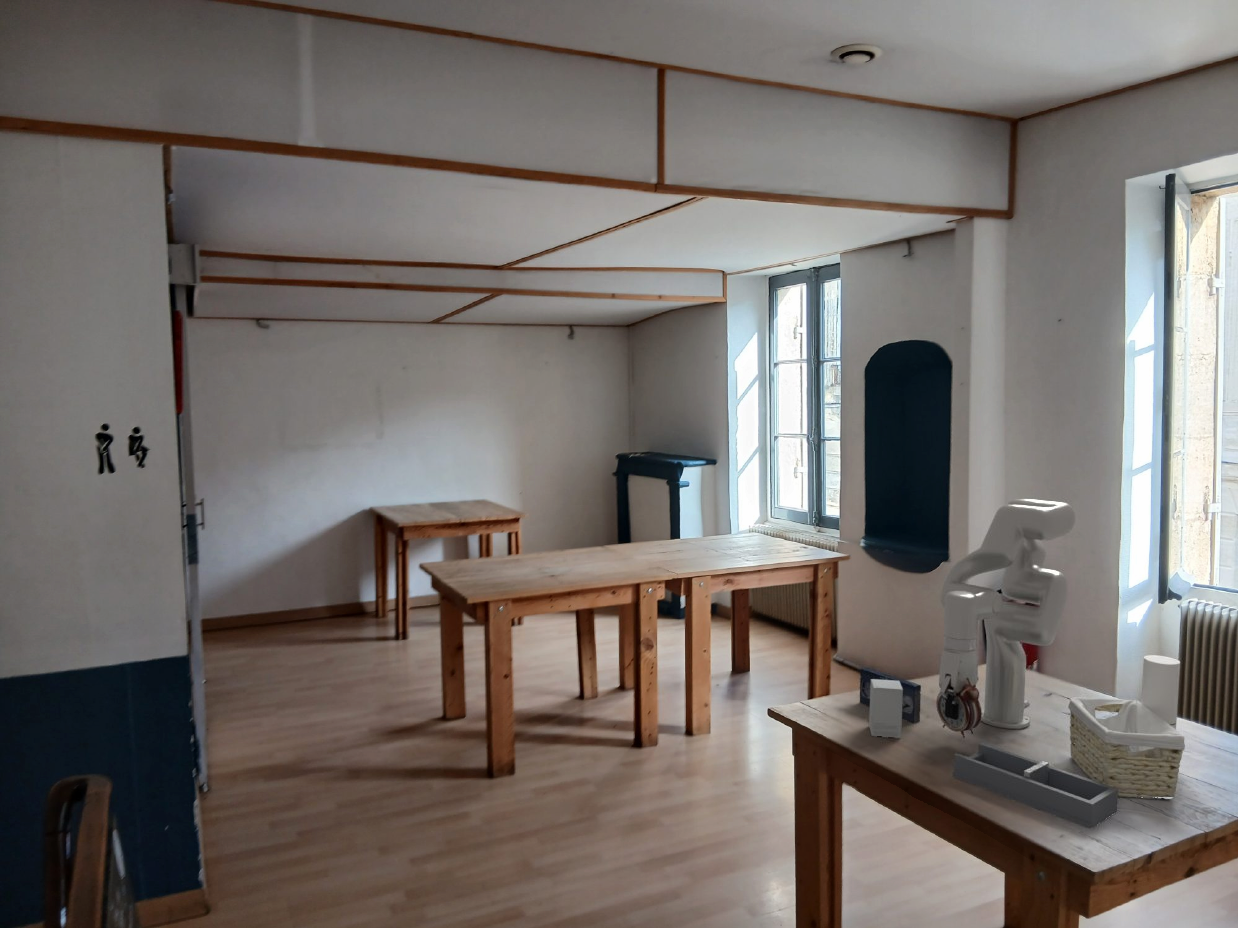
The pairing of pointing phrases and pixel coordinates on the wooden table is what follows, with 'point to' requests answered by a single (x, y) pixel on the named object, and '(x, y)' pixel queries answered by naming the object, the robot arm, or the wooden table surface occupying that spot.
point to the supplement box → (885, 708)
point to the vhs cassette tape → (909, 693)
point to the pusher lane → (1038, 786)
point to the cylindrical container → (1161, 686)
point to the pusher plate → (1038, 773)
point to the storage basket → (1125, 747)
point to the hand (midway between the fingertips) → (958, 713)
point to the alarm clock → (962, 710)
